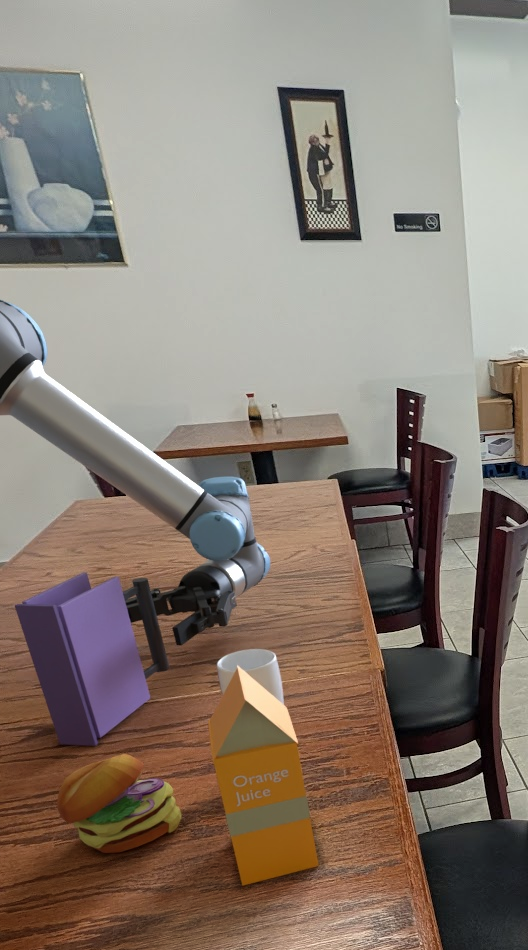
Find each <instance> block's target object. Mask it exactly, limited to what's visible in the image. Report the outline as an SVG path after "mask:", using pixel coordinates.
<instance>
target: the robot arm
mask: <svg viewBox="0 0 528 950" xmlns="http://www.w3.org/2000/svg"><path fill="white" fill-rule="evenodd" d="M46 341H47V340H46V338H45V335H44V333H43V331H42V329H41V327H40V326H39V324H38V323H37V322H36V321H35V320H34V318H33V317H32V316H31V315H30V314H28V312H26V311H25V310H23V309H22V308H21V307H18V306H17V305H15V304H13V303H10V302H8V301H4V300H3V299H0V416H11V417H13V418H14V419H16V420H17V421H18V422H20V423H22V424H23V425H24V426H26V427H27V428H29V429H30V430H32V431H33V432H35V433H36V434H37V435H39V436H40V437H42V438H43V439H45V440H46V441H47V442H49V443H50V444H52V445H53V446H55V447H56V448H58V449H59V450H60V451H62V452H64V453H65V454H66V455H68V456H69V457H71V458H72V459H74V460H75V461H77V462H78V463H80V464H81V465H83V467H85V468H87V469H88V470H90V471H91V472H92V473H94V474H95V475H97V476H98V477H99V478H102V480H104V481H105V482H107V483H108V484H110V485H111V486H112V487H114V488H116V489H117V490H119V491H120V492H121V493H122V494H124V495H126V496H127V497H129V498H130V499H132V500H133V501H134V502H136V503H137V504H139V505H140V506H142V507H143V508H144V509H146V510H147V511H149V512H150V513H151V514H154V516H156V517H158V518H159V519H160V520H162V521H163V522H165V523H166V524H168V525H169V526H171V527H172V528H173V529H175V530H176V531H178V532H180V534H182V535H183V536H185V537H186V538H187V539H189V540H190V544H191V546H192V547H193V549H194V551H196V553H197V554H198V555H199V556H201V557H203V558H204V559H206V560H207V561H205V562H203V563H201V564H200V565H198V566H197V567H195V568H194V569H192V570H190V571H188V572H187V573H185V574H184V575H183V576H182V577H181V579H180V581H179V584H178V586H177V587H174V588H173V589H172V590H169V591H164V592H161V589H160V588H158V587H157V588H153V589H150V591H151V595H152V599H153V603H154V607H155V611H156V615H157V617H158V616H161V615H164V616H167V617H169V616H172V615H173V616H174V615H176V614H180V613H182V614H186V613H191V614H189V615H188V616H187V617H185V618H184V619H183V620H181V621H179V622H178V623H177V624H175V625H174V626H172V632H173V637H174V640H175V645H176V646H183V645H184V644H186V643H187V642H188V641H190V640H191V639H193V638H194V637H195V636H196V635H197V636H198V634H200V633H202V632H203V631H205V630H207V629H211V628H213V627H215V625H218V626H219V627H221V628H224V627H227V626H228V624H229V621H230V618H231V614H232V612H233V610H234V609H235V608H237V606H238V605H237V598H238V597H240V596H241V595H243V594H244V593H246V592H247V591H249V590H250V589H252V588H254V587H256V586H257V585H258V584H259V583H260V582H261V581H262V580H263V579H264V578H265V577H266V576H267V575H268V573H269V571H270V569H271V558H270V555H269V554H268V552H267V551H266V550H265V547H264V546H262V545H261V544H259V542H257V538H256V534H255V528H254V522H253V517H252V516H253V515H252V510H251V504H250V495H249V493H248V490H247V486H246V482H245V481H244V479H242V478H240V477H238V476H217V477H210V478H207V479H206V478H205V479H204V480H201V481H200V482H199V484H197V483H196V482H194V481H193V480H191V478H189V477H187V475H185V474H183V473H182V472H180V471H179V469H177V468H176V467H174V466H173V465H171V464H170V463H168V462H167V461H166V460H165V459H163V458H161V457H160V455H159V456H158V455H157V454H156V453H154V452H153V451H152V450H150V449H149V448H148V447H146V446H145V445H144V444H143V443H141V442H139V441H138V440H137V439H135V437H133V436H131V435H130V434H129V433H127V432H126V431H125V430H124V429H122V428H121V427H119V426H118V425H116V423H114V422H112V421H111V420H110V419H108V418H107V417H106V416H104V415H103V414H101V413H100V412H98V411H97V409H95V408H93V407H92V406H91V405H89V404H88V403H86V402H85V401H83V400H82V399H81V398H80V397H79V396H77V395H76V394H74V393H73V392H71V391H70V390H68V389H67V388H66V387H64V386H63V385H62V384H61V383H59V381H56V380H55V379H54V378H52V377H51V376H50V375H48V374H47V373H46V372H45V369H44V366H45V364H46V361H47V357H48V347H47V342H46ZM125 603H126V607H127V610H128V614H129V618H130V622H131V624H133V623H136V622H140V621H142V617H141V613H140V610H139V606H138V602H137V598H136V596H133V597H131V598H129V599H127V600H125ZM168 604H169V605H168ZM169 607H170V608H169Z"/></svg>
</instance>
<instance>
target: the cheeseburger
mask: <svg viewBox="0 0 528 950" xmlns="http://www.w3.org/2000/svg"><path fill="white" fill-rule="evenodd" d="M144 768H145V765H144V763H143V762H142V761H141V760H140V759H138V758H136V757H135V756H133V755H130V754H127V753H121V754H118V755H114V756H112V757H108V758H105V759H102V760H99V761H95V762H93V763H90V764H87V765H85V766H83V767H80V768H79V769H77V770H74V771H73V772H72V773H70V774H69V775H68V776H67V777H66V778H65V779H64V780H63V782H62V784H61V785H60V787H59V789H58V795H57V801H56V808H57V811H58V813H59V817H60V818H61V820H62V821H64V822H66V823H71V824H72V823H73V825H74V828H75V829H77V831H78V837H79V839H80V841H82V842H83V843H84V844H85V845H87V846H89V847H91V848H93V849H95V850H96V851H99V852H101V853H103V854H105V853H106V854H111V853H112V854H113V853H122V852H126V851H128V850H132V849H135V848H138V847H140V846H143V845H145V844H148V843H150V842H152V841H154V840H156V839H158V838H160V837H162V836H164V835H165V834H167V833H168V834H170V833H173V832H174V831H175V830H177V829H178V827H179V825H180V823H181V820H182V817H183V814H182V811H181V809H180V807H179V806H178V804H177V803H176V798H175V797H174V795H173V793H174V789H173V787H172V786H171V784H170V783H168V782H167V781H164V780H163V779H162V778H148V779H140V778H141V776H142V774H143V770H144ZM139 779H140V780H139Z"/></svg>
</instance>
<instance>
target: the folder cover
mask: <svg viewBox="0 0 528 950" xmlns="http://www.w3.org/2000/svg"><path fill="white" fill-rule="evenodd" d="M131 582H132V586H131V587H129V588H128V589H125V590H124V591H123V588H122V583H121V580H120V577H119V576H113V577H111V578H109V579H108V580H107V579H106V580H105V581H103V582H101V583H100V584H97V585H95V586H94V587H91V589H90V590H88V591H86V592H84V593H82V594H80V595H78V596H76V597H74V598H72V599H70V600H69V601H67V602H65V603H63V604H61V605H59V606H57V609H58V612H59V615H60V618H61V622H62V625H63V628H64V632H65V635H66V638H67V641H68V645H69V648H70V651H71V655H72V658H73V661H74V665H75V668H76V671H77V674H78V678H79V681H80V684H81V688H82V691H83V694H84V698H85V701H86V704H87V707H88V711H89V714H90V717H91V721H92V724H93V727H94V730H95V734H96V738H97V739H98V738H99V739H100V738H102V737H104V736H105V735H106V734H107V733H109V732H110V731H111V730H112V729H114V728H115V727H116V726H117V725H119V724H120V723H121V722H123V721H124V720H125V719H127V718H128V717H129V716H130V715H131V714H132V713H134V712H135V711H137V710H138V709H139V708H140V707H141V706H143V705H144V704H145V703H146V702H148V701H149V700H151V694H150V691H149V687H148V682H147V679H148V678H150V677H151V676H152V675H154V674H155V673H163V672H167V671H168V670H170V668H171V667H170V664H169V660H168V655H167V651H166V648H165V643H164V639H163V636H162V631H161V627H160V623H159V619H158V616H157V615H156V611H155V607H154V603H153V599H152V595H151V587H150V584H149V579H148V578H147V577H138V578H134V579H132V580H131ZM133 597H136V598H137V602H138V606H139V610H140V613H141V617H142V620H141V621H142V624H143V629H144V632H145V636H146V640H147V644H148V648H149V652H150V656H151V659H152V664H151V665H150V666H149V667H147V668H146V669H145V670H144V668H143V664H142V660H141V657H140V653H139V649H138V645H137V641H136V638H135V634H134V633H135V632H134V630H133V626H132V623H131V622H130V618H129V614H128V610H127V607H126V603H125V600H128V599H131V598H133Z"/></svg>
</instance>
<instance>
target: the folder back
mask: <svg viewBox="0 0 528 950" xmlns="http://www.w3.org/2000/svg"><path fill="white" fill-rule="evenodd" d="M90 589H92V586H91V582H90V579H89V576H88V573H87V572H84V571H83V572H81V573H79V574H76V575H75V576H73V577H70V578H69V579H66V580H64V581H62V582H60V583H58V584H56V585H54V586H52V587H50V588H48V589H46V590H43V591H41V592H40V593H37V594H35V595H33V596H31V597H29V598H27V599H25V600H22V603H17V604H15V605H14V608H15V611H16V615H17V618H18V621H19V624H20V626H21V631H22V633H23V636H24V640H25V642H26V646H27V648H28V651H29V654H30V657H31V660H32V664H33V666H34V670H35V672H36V676H37V679H38V683H39V685H40V687H41V691H42V694H43V697H44V700H45V703H46V706H47V708H48V712H49V715H50V718H51V722H52V725H53V728H54V731H55V734H56V737H57V740H58V742H59V745H68V746H89V747H90V746H92V747H96V746H98V744H99V741H98V738H97V737H96V734H95V730H94V727H93V724H92V721H91V717H90V714H89V711H88V707H87V704H86V701H85V698H84V694H83V691H82V688H81V684H80V681H79V678H78V674H77V671H76V668H75V665H74V661H73V658H72V655H71V651H70V648H69V645H68V641H67V638H66V635H65V632H64V628H63V625H62V622H61V618H60V615H59V612H58V609H57V606H59V605H61V604H63V603H65V602H67V601H69V600H70V599H72V598H74V597H76V596H78V595H80V594H82V593H84V592H86V591H88V590H90Z"/></svg>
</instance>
